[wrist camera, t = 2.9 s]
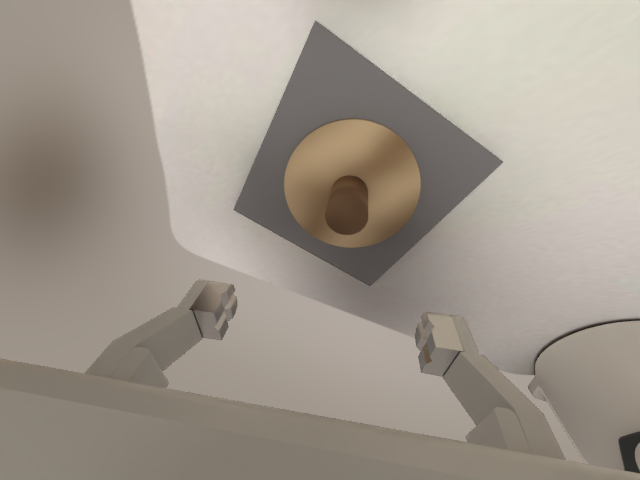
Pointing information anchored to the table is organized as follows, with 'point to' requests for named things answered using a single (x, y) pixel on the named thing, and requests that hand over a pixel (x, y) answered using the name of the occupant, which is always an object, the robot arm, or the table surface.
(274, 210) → the rubber mat
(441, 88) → the table surface
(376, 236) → the oak lid
